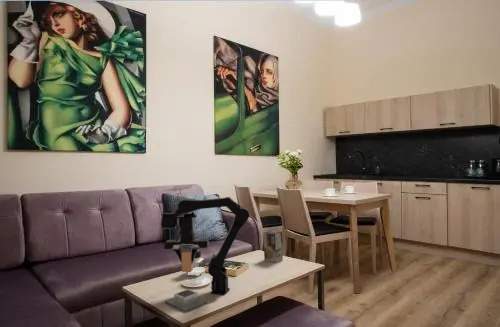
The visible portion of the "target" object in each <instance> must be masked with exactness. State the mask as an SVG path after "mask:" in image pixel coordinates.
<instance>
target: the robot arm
mask: <svg viewBox="0 0 500 327" xmlns="http://www.w3.org/2000/svg"><path fill="white" fill-rule="evenodd" d="M222 207H224V208H225V207H226V208H227V209H228V210H229V211H230V212H231V213H233V215H234V218H233V221H232V225H231V226H230V229H229V230H228V233H227V234H226V237H225V238H224V240H223V242H222V244H221V246H220V248H219V251H218V252H217V253H216V254H214V253H213V254H212V256H211V258H210V260H209V261H208V264H207V267H208V269H207V272H208V274H209V275H210V276H211V277H212V278H211V282H210V283H211V291H210V294H215V295H222V296H223V295H226V294H227V293H228V292H229V291H230V287H229V278H228V277H229V276H227V274H228V269H227V268H226V267H225V266H224V264H225V260H226V257H227V255H228V253H229V251H230V249H231V247H232V245H233V243H234V241H235V239H236V238H237V235H238V233H239V231H240V230H241V229H242V227H244V225H245V224H246V222H248V220H249V217H250V212H249V209H248V208H247V207H244V206H241V205H240V204H239V203H237V202H236V201H234V199H232V197H229V196H226V197H218V198H208V199H196V198H195V199H194V198H184V199H182V200H180V201H179V203H178V205H177V209H176V211H174V212H169V213H168V212H163V213H162V217H161V222H160V226H161V229H162V230H166V229H176V228H177V227H179V234H178V239H179V241H176V239H167V240H166V241H165V242H164V244H163V249H164V250H172V251H173V252H175V253H176V255H177V256H178V258H179V261H180V262H181V264H182V252H181V249H182V247H183V246H192V259H191V261H192V263H193V261H194V257H195V254H196V251H197V250H200V249H207V248H208V247H209V246H210V242H209V241H210V239H208V238H199V239H198V240H196V239H195V238H196V233H195V232H194V226H193V225H194V219H196V218H197V217H198V215H197V214H196V213H195V211H198V210H205V209H214V208H222ZM182 214H184V215H182ZM193 218H194V219H193Z"/></svg>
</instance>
